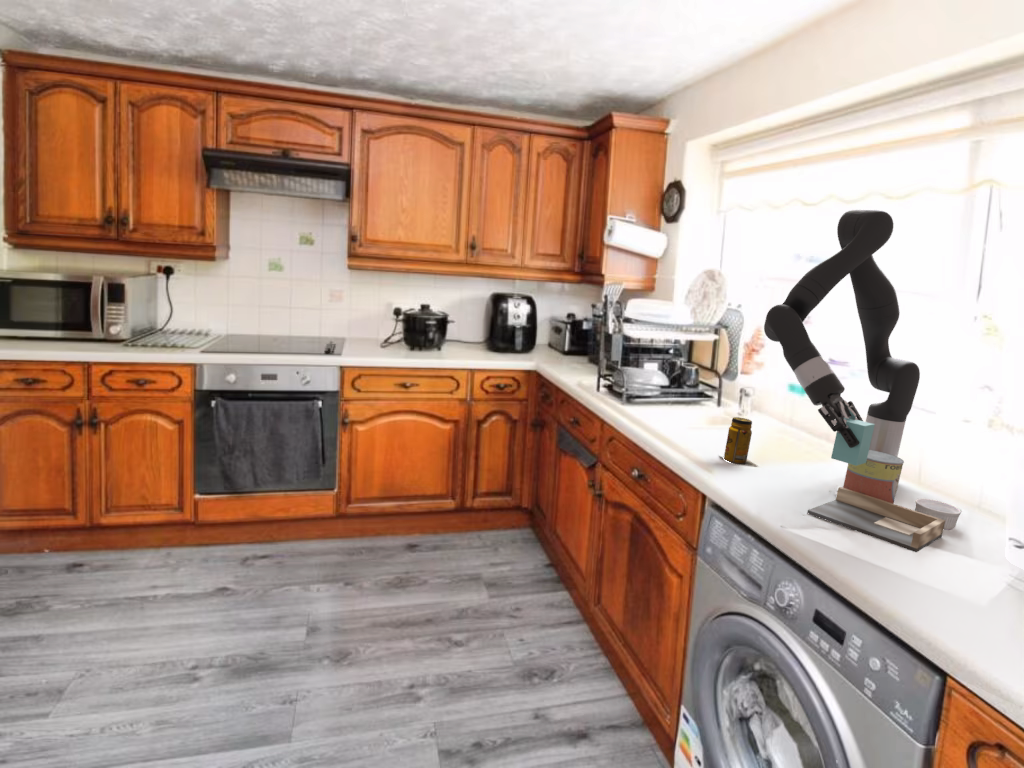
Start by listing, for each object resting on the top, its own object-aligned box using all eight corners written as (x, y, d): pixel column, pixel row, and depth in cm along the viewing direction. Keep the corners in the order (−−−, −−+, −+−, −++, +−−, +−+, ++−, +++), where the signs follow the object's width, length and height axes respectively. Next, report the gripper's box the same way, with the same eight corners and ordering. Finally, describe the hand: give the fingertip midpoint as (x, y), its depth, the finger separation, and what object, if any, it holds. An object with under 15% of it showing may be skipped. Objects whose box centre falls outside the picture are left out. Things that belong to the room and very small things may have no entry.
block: (841, 455, 154) (849, 417, 153) (866, 462, 150) (874, 424, 149) (831, 458, 151) (839, 419, 149) (856, 465, 147) (865, 426, 145)
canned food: (891, 516, 153) (903, 466, 151) (837, 502, 159) (848, 454, 156) (893, 504, 162) (904, 457, 160) (843, 491, 168) (853, 445, 166)
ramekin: (958, 535, 146) (963, 516, 145) (912, 523, 150) (916, 505, 149) (955, 523, 154) (959, 505, 153) (910, 512, 158) (915, 495, 157)
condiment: (718, 456, 188) (725, 415, 186) (746, 458, 189) (754, 417, 187) (728, 464, 181) (736, 421, 179) (758, 467, 182) (766, 424, 180)
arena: (837, 502, 159) (840, 486, 158) (941, 537, 143) (945, 520, 142) (807, 513, 148) (810, 497, 147) (916, 552, 132) (920, 534, 131)
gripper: (818, 372, 148) (863, 439, 141) (845, 371, 157) (888, 433, 151) (790, 390, 153) (832, 456, 146) (818, 388, 162) (858, 449, 156)
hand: (860, 444), depth 149 cm, fingers closed on block, 5 cm apart
